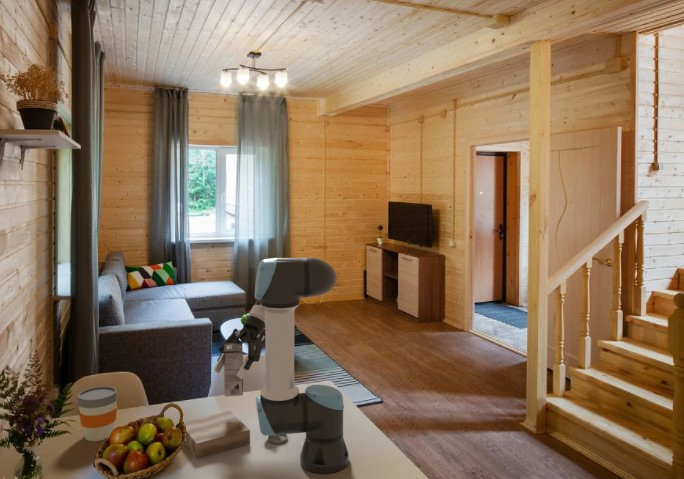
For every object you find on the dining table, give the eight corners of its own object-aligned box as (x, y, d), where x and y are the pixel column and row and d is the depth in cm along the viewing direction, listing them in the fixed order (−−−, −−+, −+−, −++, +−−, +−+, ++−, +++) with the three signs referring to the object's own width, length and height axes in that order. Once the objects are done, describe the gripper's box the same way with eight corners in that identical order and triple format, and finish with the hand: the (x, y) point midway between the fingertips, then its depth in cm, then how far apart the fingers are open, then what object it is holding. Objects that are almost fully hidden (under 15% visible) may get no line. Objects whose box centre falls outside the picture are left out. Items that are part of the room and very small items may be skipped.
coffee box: (225, 387, 193) (224, 343, 191) (243, 385, 194) (242, 342, 192) (224, 396, 184) (222, 351, 183) (243, 395, 185) (242, 350, 184)
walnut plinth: (250, 443, 179) (249, 429, 178) (196, 458, 169) (196, 443, 168) (229, 423, 194) (229, 410, 193) (179, 436, 184) (179, 422, 183)
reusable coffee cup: (126, 432, 186) (125, 391, 185) (92, 447, 176) (90, 403, 175) (105, 423, 193) (103, 383, 192) (71, 437, 183) (69, 394, 182)
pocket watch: (284, 445, 178) (284, 416, 177) (260, 442, 180) (259, 414, 179) (291, 434, 186) (291, 406, 185) (268, 432, 188) (268, 404, 187)
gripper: (286, 330, 194) (257, 385, 182) (239, 321, 206) (209, 373, 194) (276, 318, 189) (246, 375, 177) (229, 310, 201) (198, 363, 189)
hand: (227, 374), depth 186 cm, fingers closed on coffee box, 10 cm apart
